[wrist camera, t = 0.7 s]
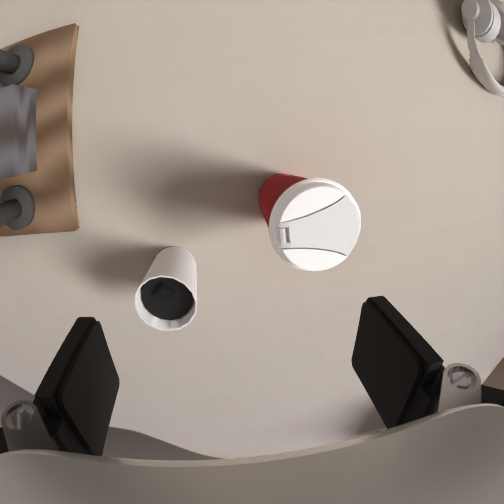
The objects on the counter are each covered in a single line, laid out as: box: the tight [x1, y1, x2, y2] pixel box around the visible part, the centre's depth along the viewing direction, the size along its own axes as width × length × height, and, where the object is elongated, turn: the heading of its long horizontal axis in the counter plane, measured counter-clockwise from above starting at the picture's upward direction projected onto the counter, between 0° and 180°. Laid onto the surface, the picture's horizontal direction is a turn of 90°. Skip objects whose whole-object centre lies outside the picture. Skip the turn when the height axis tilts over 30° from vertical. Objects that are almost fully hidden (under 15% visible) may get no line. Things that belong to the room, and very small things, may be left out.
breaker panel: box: [0, 23, 79, 237], centre depth 27 cm, size 28×18×8 cm, turn 179°
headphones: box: [461, 0, 504, 97], centre depth 30 cm, size 18×8×20 cm
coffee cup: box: [259, 174, 361, 271], centre depth 32 cm, size 8×8×15 cm
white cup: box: [135, 246, 197, 331], centre depth 35 cm, size 7×7×10 cm
